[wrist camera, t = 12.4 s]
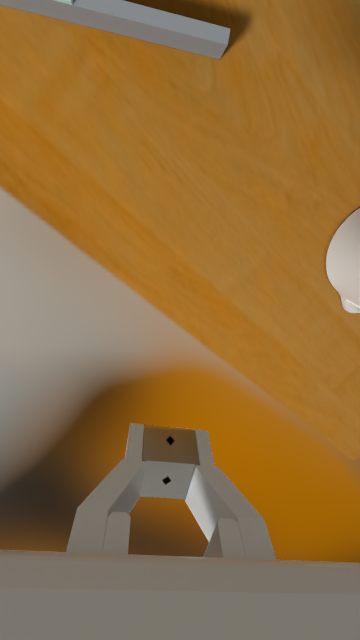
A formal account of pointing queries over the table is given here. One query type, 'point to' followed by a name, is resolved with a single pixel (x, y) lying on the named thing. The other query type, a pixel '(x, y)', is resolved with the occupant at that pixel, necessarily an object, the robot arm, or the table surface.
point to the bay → (134, 23)
